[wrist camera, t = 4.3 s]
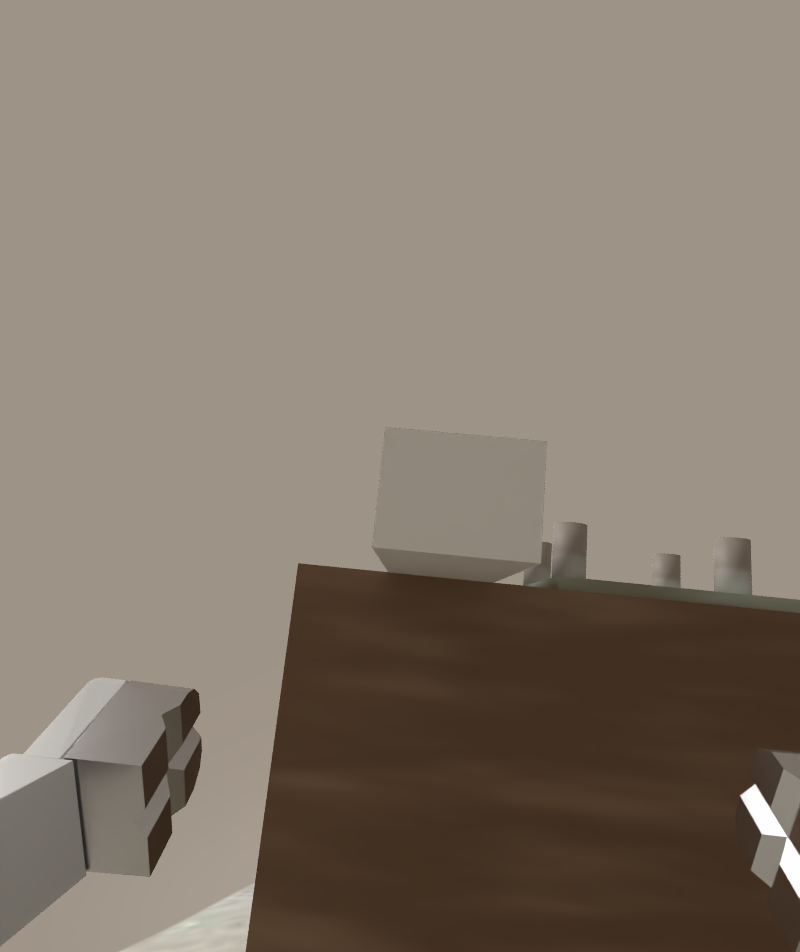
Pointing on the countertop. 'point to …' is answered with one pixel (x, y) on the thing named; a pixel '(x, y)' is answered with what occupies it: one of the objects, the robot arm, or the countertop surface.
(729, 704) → the wooden peg block
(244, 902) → the countertop surface
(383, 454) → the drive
